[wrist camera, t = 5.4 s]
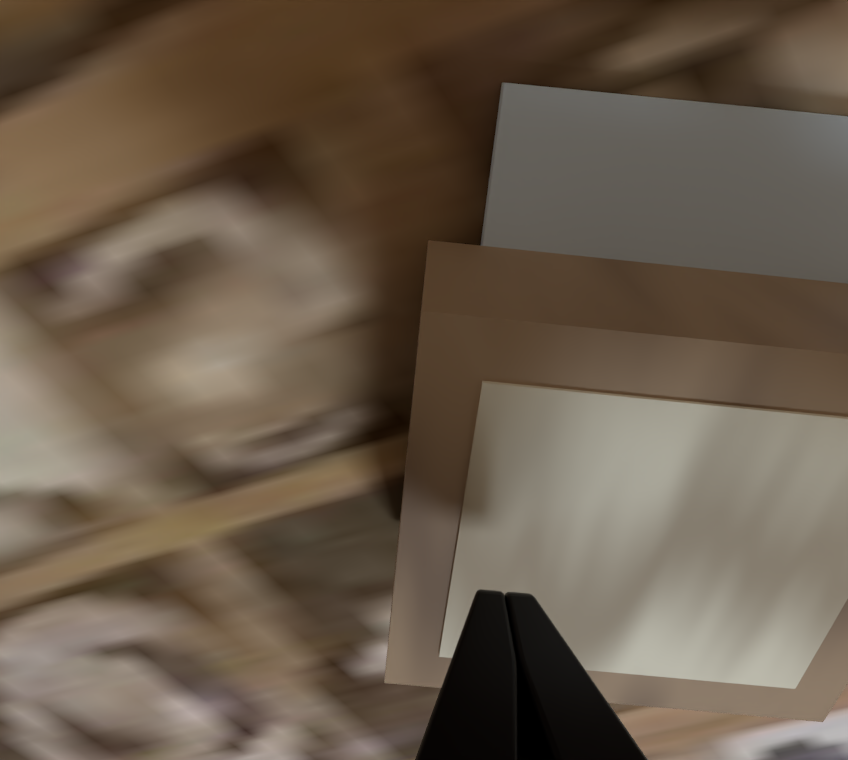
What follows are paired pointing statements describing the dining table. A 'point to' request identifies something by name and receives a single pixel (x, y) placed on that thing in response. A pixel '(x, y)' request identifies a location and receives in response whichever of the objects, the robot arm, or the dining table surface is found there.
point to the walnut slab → (632, 475)
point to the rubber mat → (669, 182)
